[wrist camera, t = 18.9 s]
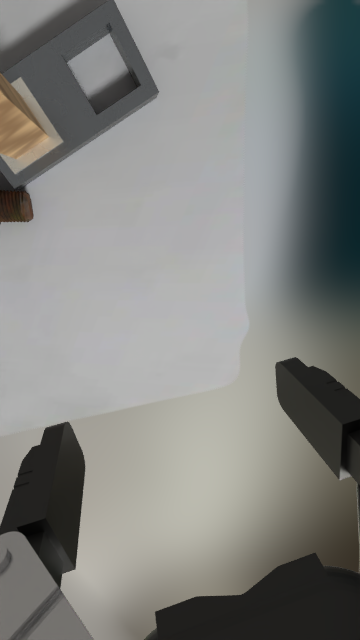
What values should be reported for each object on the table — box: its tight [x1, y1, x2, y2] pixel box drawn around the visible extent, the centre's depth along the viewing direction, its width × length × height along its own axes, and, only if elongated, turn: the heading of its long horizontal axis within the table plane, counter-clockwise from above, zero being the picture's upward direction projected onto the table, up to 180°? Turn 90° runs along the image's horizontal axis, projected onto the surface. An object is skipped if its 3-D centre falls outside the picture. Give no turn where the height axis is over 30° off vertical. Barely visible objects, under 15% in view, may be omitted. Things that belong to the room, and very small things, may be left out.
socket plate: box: [0, 0, 159, 189], centre depth 30 cm, size 18×8×2 cm, turn 121°
